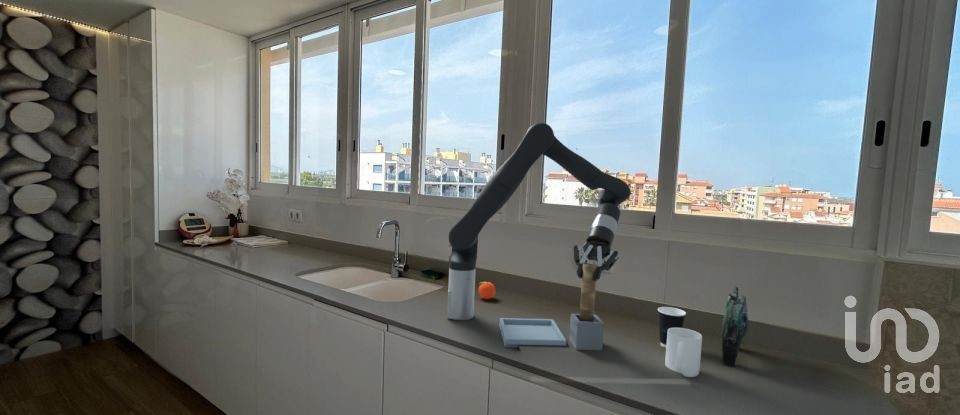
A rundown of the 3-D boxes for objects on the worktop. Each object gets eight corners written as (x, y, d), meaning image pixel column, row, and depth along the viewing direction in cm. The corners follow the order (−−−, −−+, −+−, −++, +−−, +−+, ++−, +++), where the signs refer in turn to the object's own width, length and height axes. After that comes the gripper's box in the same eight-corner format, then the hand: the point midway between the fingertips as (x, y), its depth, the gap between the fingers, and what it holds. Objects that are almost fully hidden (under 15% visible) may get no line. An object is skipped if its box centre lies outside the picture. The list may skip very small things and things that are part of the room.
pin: (581, 320, 121) (585, 266, 120) (577, 315, 125) (581, 263, 124) (595, 321, 121) (598, 266, 120) (590, 316, 125) (594, 263, 124)
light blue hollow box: (575, 353, 120) (577, 322, 119) (569, 342, 127) (570, 313, 127) (601, 353, 120) (603, 323, 120) (593, 343, 128) (595, 314, 127)
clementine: (474, 300, 167) (474, 282, 166) (477, 295, 173) (477, 278, 173) (493, 302, 165) (494, 284, 165) (496, 297, 172) (497, 280, 172)
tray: (504, 347, 122) (505, 339, 122) (499, 325, 140) (499, 318, 139) (565, 348, 123) (566, 340, 122) (552, 326, 140) (553, 319, 140)
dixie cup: (662, 350, 124) (665, 314, 123) (650, 340, 132) (653, 306, 131) (688, 351, 124) (691, 315, 123) (675, 341, 132) (677, 307, 131)
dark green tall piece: (723, 342, 133) (728, 280, 131) (747, 348, 129) (753, 284, 127) (715, 363, 117) (721, 293, 115) (742, 370, 113) (749, 298, 111)
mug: (695, 387, 103) (698, 346, 102) (659, 377, 107) (662, 338, 106) (700, 369, 112) (704, 332, 112) (667, 361, 117) (670, 325, 116)
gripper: (577, 222, 131) (560, 266, 122) (624, 227, 124) (610, 274, 114) (582, 237, 136) (566, 281, 127) (627, 243, 128) (613, 289, 119)
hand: (587, 277), depth 121 cm, fingers closed on pin, 4 cm apart
